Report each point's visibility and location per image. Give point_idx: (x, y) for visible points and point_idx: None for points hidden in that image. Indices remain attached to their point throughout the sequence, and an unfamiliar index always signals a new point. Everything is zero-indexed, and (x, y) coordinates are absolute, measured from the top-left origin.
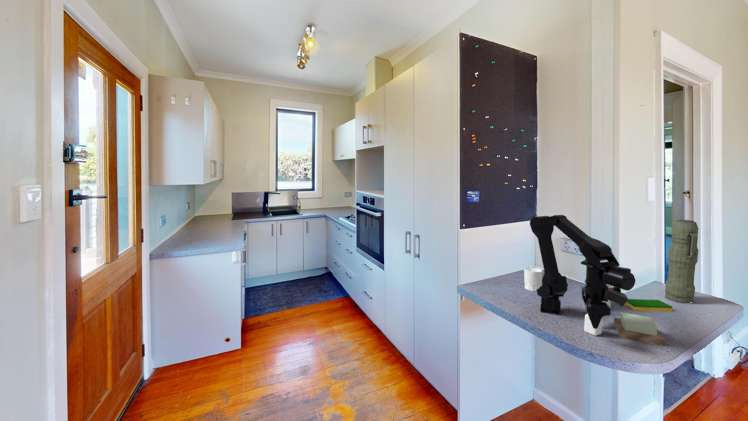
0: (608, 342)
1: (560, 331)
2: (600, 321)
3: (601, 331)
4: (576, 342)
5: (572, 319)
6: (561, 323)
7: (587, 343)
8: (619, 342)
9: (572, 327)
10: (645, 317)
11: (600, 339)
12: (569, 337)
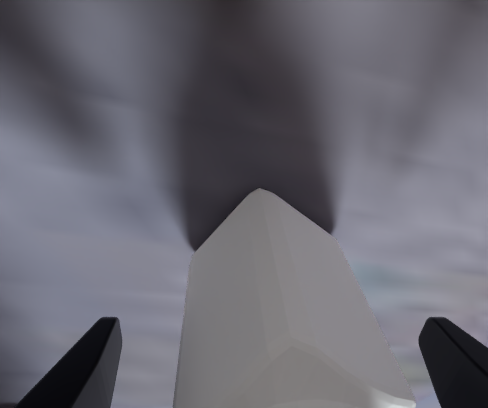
0: (434, 155)
1: None
2: (341, 323)
3: (278, 204)
4: None
5: (52, 348)
6: None
7: (475, 297)
8: (414, 43)
9: None
10: None
11: (386, 209)
12: (403, 371)
